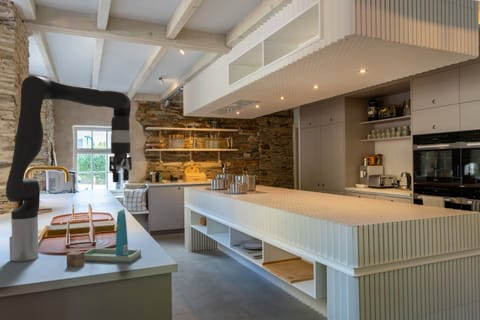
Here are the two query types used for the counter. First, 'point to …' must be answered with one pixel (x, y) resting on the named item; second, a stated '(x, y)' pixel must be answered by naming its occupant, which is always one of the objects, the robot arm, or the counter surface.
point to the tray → (110, 255)
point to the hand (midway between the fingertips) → (121, 181)
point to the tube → (121, 235)
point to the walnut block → (75, 259)
